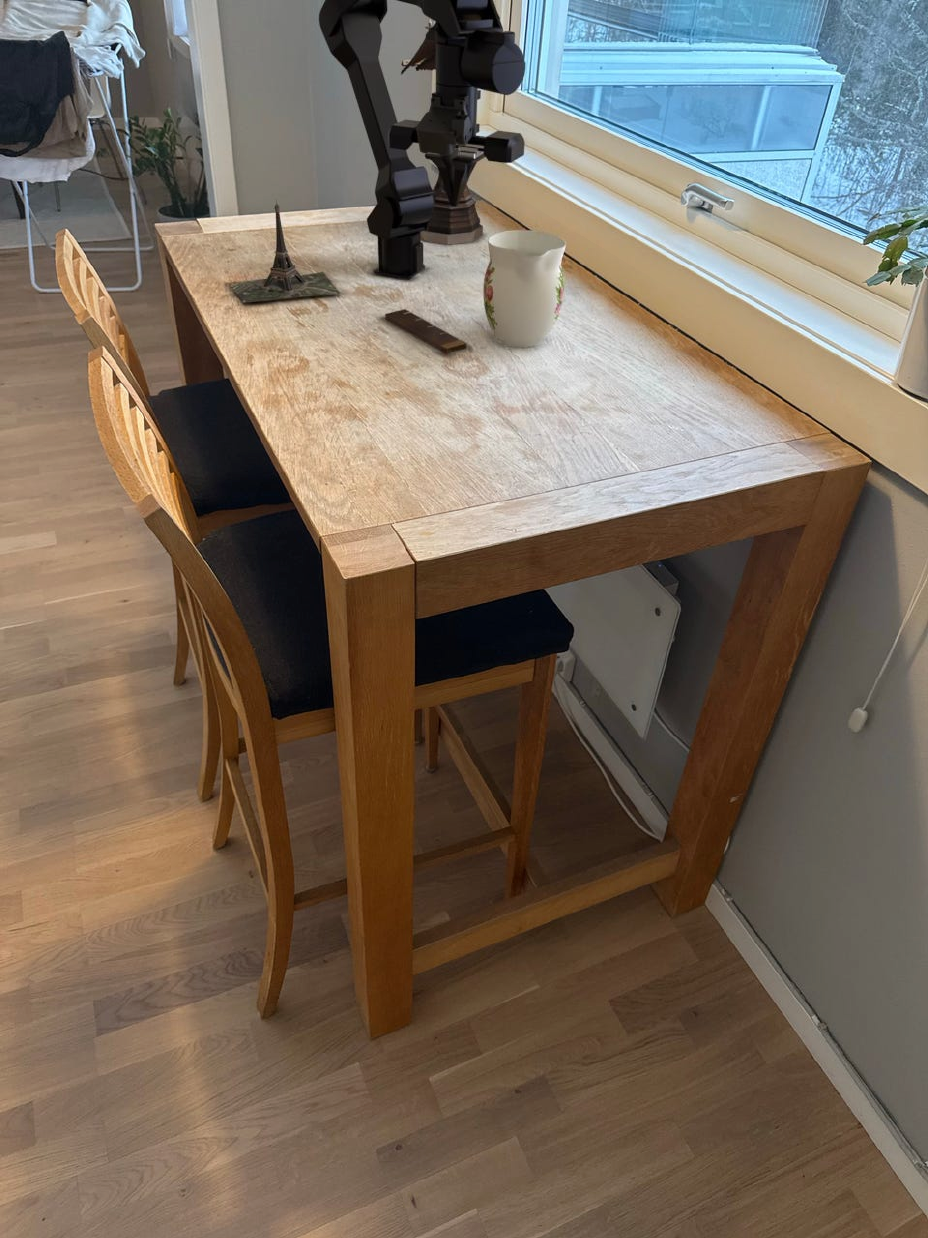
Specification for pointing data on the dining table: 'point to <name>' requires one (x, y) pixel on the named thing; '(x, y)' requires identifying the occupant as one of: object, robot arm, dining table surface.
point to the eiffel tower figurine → (284, 278)
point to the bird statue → (445, 219)
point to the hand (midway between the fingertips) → (454, 206)
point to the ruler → (426, 331)
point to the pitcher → (523, 286)
